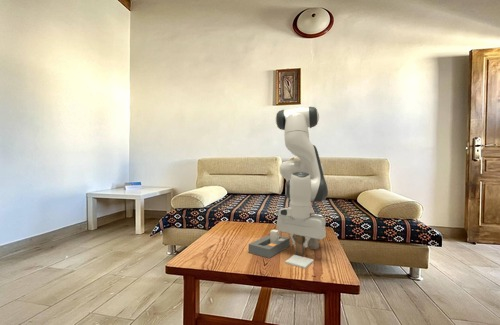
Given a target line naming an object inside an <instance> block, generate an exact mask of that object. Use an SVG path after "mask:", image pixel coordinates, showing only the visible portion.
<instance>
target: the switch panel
mask: <svg viewBox="0 0 500 325" xmlns="http://www.w3.org/2000/svg"><path fill="white" fill-rule="evenodd" d="M290 246H291V237H288V236H282V235H279V239H278V240H276V241H274V242H272V243H270V234H268V235H266V236H263V237H261V238H260V239H259V238H258V239H256V240H254V241H252V242H249V243H248V253H249V254H253V255H256V256H259V257H263V258H267V259H270V258H272V257H275V256H276V255H277V254H279V253H280V252H282V251H283V250H285V249H287V248H289V247H290Z"/></svg>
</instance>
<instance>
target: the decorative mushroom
mask: <svg viewBox="0 0 500 325" xmlns="http://www.w3.org/2000/svg"><path fill="white" fill-rule="evenodd" d="M312 214H316V213H315V212H314V213H312ZM320 245H321V244H320V242H319V239H315V238H311V239H310V240H309V242H308V247H307V248H308V249H311V250H318V249H320V248H319V247H320Z"/></svg>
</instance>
